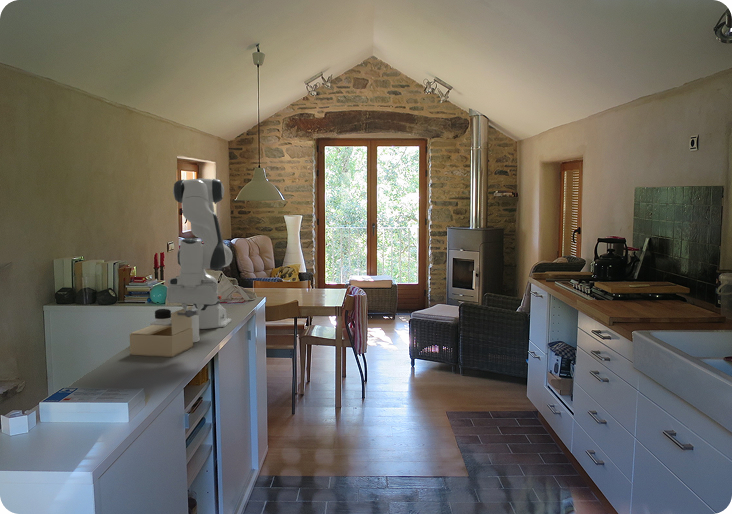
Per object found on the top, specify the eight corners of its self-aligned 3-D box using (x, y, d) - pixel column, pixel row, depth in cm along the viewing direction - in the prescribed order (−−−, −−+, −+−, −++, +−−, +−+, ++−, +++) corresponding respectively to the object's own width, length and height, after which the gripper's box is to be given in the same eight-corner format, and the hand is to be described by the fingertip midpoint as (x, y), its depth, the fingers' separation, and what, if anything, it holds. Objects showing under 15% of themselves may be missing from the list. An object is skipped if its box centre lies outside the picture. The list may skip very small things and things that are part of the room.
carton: (153, 344, 241) (152, 324, 240) (192, 346, 237) (192, 326, 236) (130, 354, 225) (129, 332, 224) (172, 357, 221) (172, 335, 221)
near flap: (190, 305, 235) (204, 306, 234) (191, 326, 236) (204, 327, 235) (171, 312, 220) (185, 313, 219) (171, 335, 221) (185, 335, 220)
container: (167, 341, 246) (166, 311, 245) (150, 340, 247) (149, 310, 246) (176, 337, 253) (175, 308, 252) (160, 336, 255) (159, 307, 254)
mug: (198, 344, 241) (197, 316, 240) (176, 345, 239) (175, 316, 238) (200, 338, 253) (200, 310, 251) (180, 338, 251) (179, 311, 250)
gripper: (220, 279, 226) (220, 314, 228) (172, 278, 230) (173, 312, 232) (212, 281, 220) (213, 317, 221) (164, 280, 224) (164, 315, 225)
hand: (192, 314), depth 227 cm, fingers open, 3 cm apart
